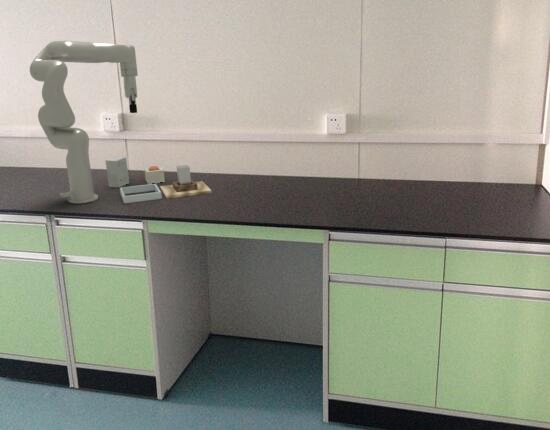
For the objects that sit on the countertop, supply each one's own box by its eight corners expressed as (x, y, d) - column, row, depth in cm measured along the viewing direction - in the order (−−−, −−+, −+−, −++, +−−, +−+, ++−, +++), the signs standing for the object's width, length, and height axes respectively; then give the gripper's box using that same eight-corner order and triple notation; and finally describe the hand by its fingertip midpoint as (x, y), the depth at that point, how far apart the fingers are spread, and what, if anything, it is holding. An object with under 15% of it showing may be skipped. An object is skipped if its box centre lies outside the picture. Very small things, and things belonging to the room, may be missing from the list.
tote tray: (124, 203, 234) (123, 196, 233) (120, 194, 248) (119, 187, 247) (161, 198, 239) (161, 192, 238) (156, 189, 253) (155, 183, 252)
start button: (150, 174, 265) (150, 168, 264) (149, 172, 268) (149, 166, 267) (159, 173, 266) (158, 167, 265) (157, 171, 270) (157, 165, 269)
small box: (118, 182, 268) (115, 156, 264) (129, 183, 266) (126, 157, 262) (108, 187, 261) (105, 160, 257) (119, 187, 259) (116, 160, 255)
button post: (148, 184, 264) (146, 172, 262) (145, 180, 271) (144, 168, 269) (164, 182, 266) (163, 170, 264) (162, 178, 273) (160, 166, 271)
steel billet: (180, 190, 247) (178, 168, 244) (178, 187, 251) (176, 166, 248) (191, 188, 248) (189, 167, 245) (189, 186, 253) (187, 165, 250)
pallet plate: (166, 198, 239) (166, 190, 238) (160, 188, 255) (159, 181, 254) (211, 193, 245) (211, 185, 244) (202, 183, 261) (201, 176, 260)
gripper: (119, 72, 261) (123, 111, 267) (122, 74, 248) (127, 115, 254) (135, 71, 264) (139, 110, 269) (139, 73, 250) (143, 113, 256)
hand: (133, 112), depth 261 cm, fingers closed
